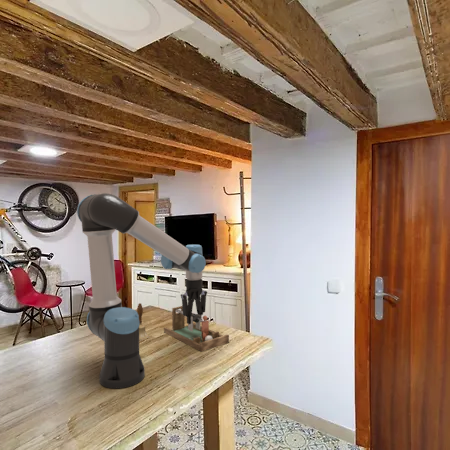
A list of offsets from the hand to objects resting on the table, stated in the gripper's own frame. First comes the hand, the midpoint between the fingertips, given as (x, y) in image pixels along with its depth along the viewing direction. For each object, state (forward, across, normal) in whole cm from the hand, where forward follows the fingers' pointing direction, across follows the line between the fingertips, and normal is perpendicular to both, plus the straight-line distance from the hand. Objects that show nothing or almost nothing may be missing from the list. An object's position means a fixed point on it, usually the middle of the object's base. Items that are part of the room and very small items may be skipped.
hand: (194, 329), depth 153 cm
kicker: (+3, 0, +4) cm, 5 cm away
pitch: (+5, 0, 0) cm, 5 cm away
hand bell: (+5, -18, +18) cm, 26 cm away
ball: (+1, 0, -10) cm, 10 cm away
